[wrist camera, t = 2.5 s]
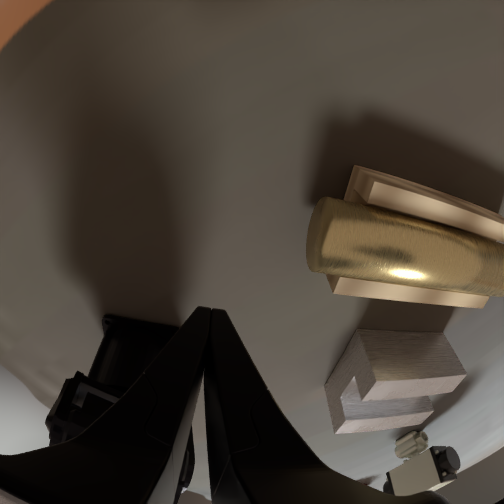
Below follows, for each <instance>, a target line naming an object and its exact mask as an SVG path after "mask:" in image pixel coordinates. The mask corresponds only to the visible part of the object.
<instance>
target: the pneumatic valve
mask: <svg viewBox="0 0 504 504" xmlns="http://www.w3.org/2000/svg"><path fill="white" fill-rule="evenodd" d="M426 443H428V436H427V435H426V433H425V432H423V431H420V432H416V431H411V432H409V433H408V434H406V435H405V436H403V437H402V438H400V439H398V440H397V441H396V443H395V445H396V448H395V454H396V455H397V457H399V458H404V457H405V458H407V457H408V458H411V459H409V460H404V464H402V465H400V466H398V467H396V468H394V469H393V470H391V471H389V472H387V473H386V475H387V479H386V480H387V481H386V482H385V484H384V486H383V492H384V493H387V494H391V495H397V496H407V495H412V494H416V493H419V492H422V491H426V490H432V491H435V490H437V489H439V488H441V487H443V486H445V485H446V484H448V483H450V482H452V481H453V480H455V479H457V476H456V473H457V470H459V468H460V459H459V456H458V454H457V452H456V451H455V450H454V449H453V448H452V447H450V446H448V447H446V446H432V447H431V448H429V449H427V447H428V444H426ZM397 445H398V446H397ZM426 449H427V450H426ZM424 450H426V451H424ZM422 451H424V452H423V453H421V452H422ZM420 453H421V454H420Z"/></svg>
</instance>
